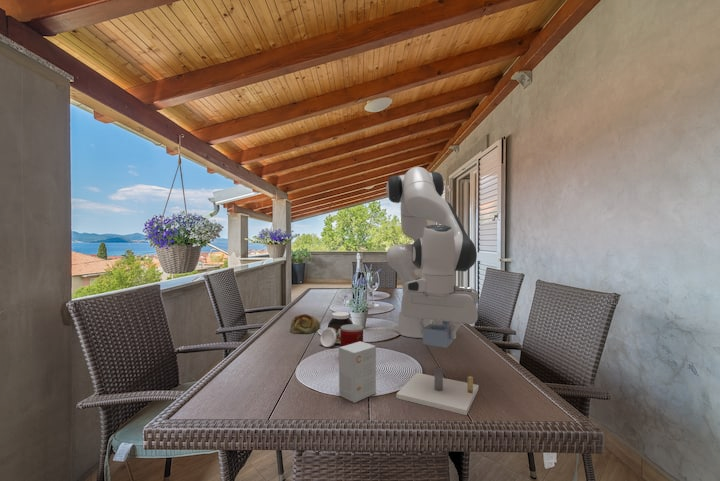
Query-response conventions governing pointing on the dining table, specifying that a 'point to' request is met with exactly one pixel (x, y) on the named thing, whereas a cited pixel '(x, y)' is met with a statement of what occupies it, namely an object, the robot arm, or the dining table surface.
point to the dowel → (470, 384)
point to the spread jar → (334, 329)
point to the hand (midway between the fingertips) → (437, 336)
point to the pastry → (304, 324)
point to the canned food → (350, 334)
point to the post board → (438, 392)
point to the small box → (357, 371)
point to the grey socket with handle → (437, 334)
